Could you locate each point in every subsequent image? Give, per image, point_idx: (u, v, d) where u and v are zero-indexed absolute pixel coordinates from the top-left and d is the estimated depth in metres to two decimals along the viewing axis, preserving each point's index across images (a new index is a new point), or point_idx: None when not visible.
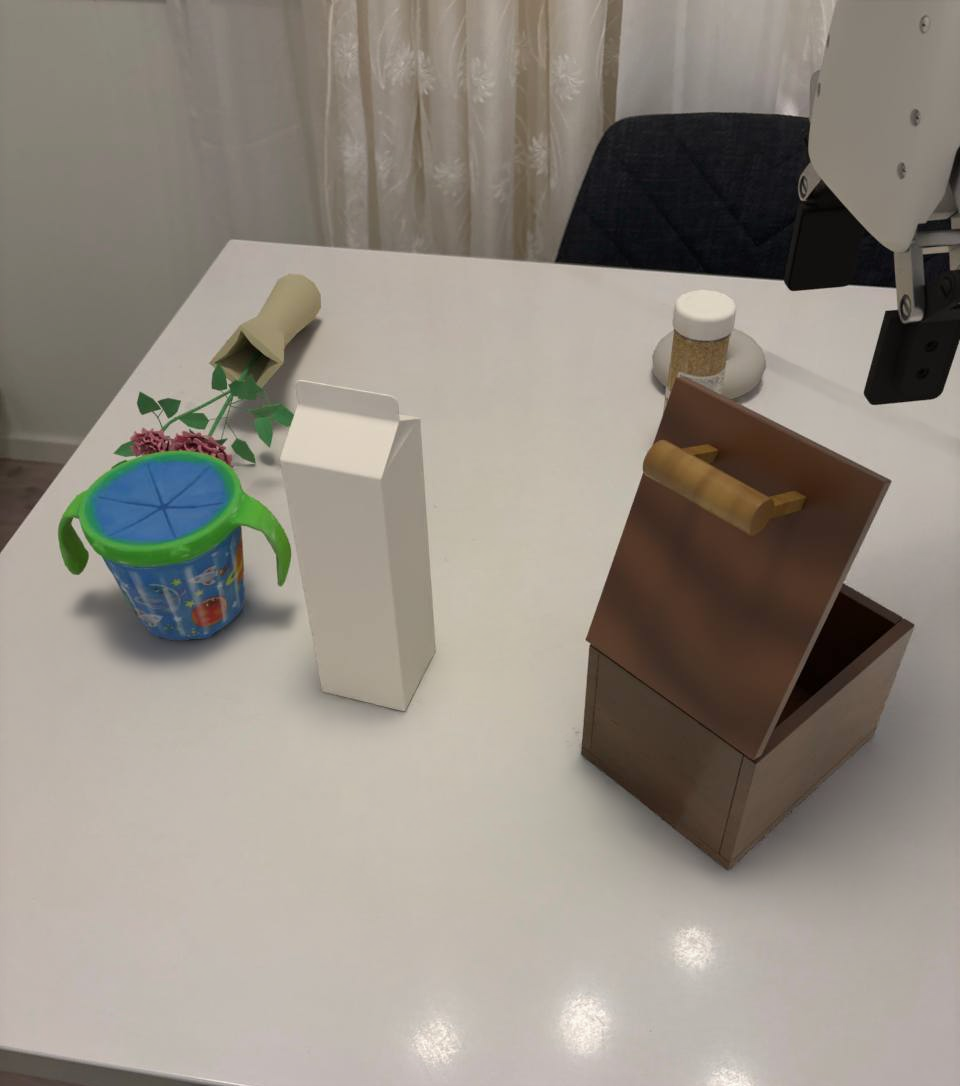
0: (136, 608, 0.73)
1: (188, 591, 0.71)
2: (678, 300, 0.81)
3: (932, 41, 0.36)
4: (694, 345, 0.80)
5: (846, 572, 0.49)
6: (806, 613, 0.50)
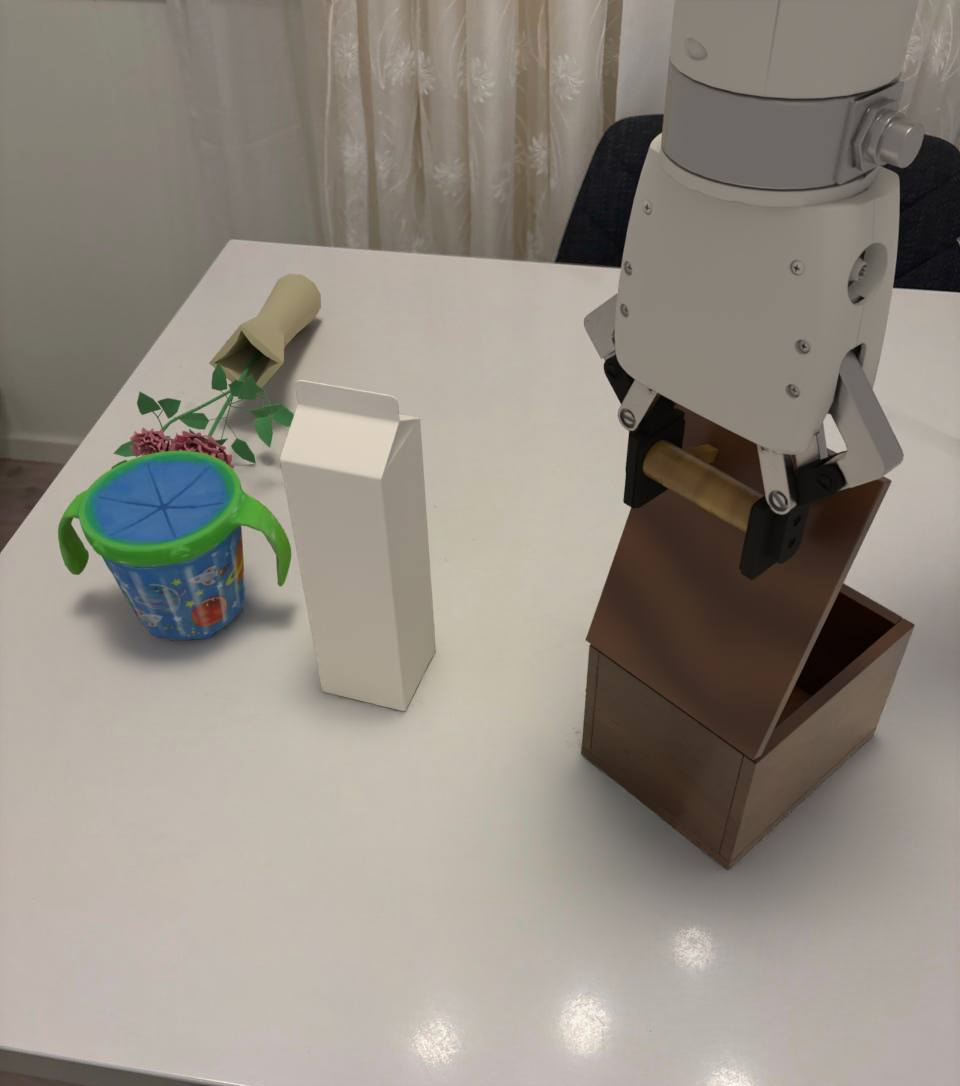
0: (136, 608, 0.73)
1: (188, 591, 0.71)
2: None
3: (811, 282, 0.37)
4: None
5: (846, 572, 0.49)
6: (806, 613, 0.50)
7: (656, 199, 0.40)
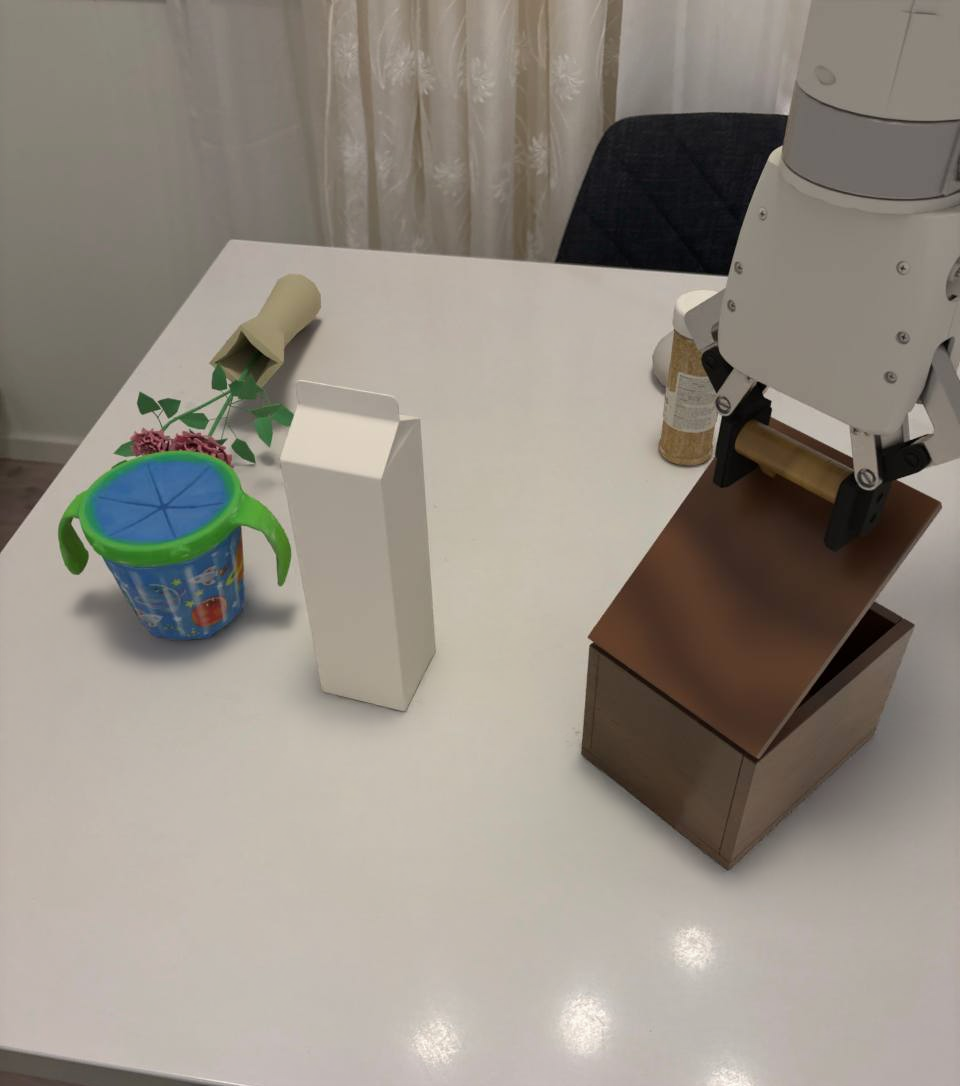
0: (136, 608, 0.73)
1: (188, 591, 0.71)
2: (678, 300, 0.81)
3: (915, 280, 0.42)
4: (694, 345, 0.80)
5: (887, 581, 0.53)
6: (843, 612, 0.53)
7: (771, 206, 0.45)
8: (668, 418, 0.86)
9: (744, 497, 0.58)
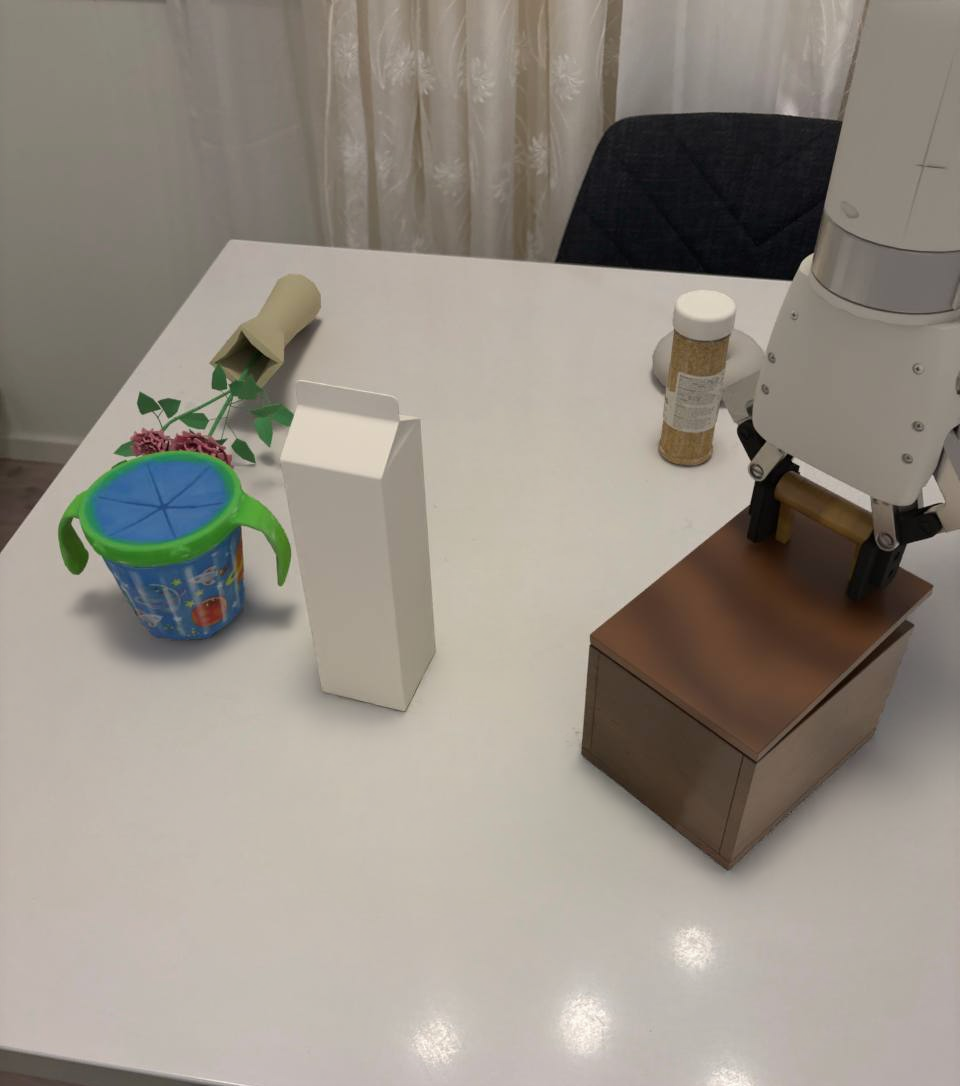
0: (136, 608, 0.73)
1: (188, 591, 0.71)
2: (678, 300, 0.81)
3: (928, 379, 0.48)
4: (694, 345, 0.80)
5: (884, 637, 0.58)
6: (847, 651, 0.57)
7: (802, 309, 0.51)
8: (668, 418, 0.86)
9: (756, 554, 0.62)
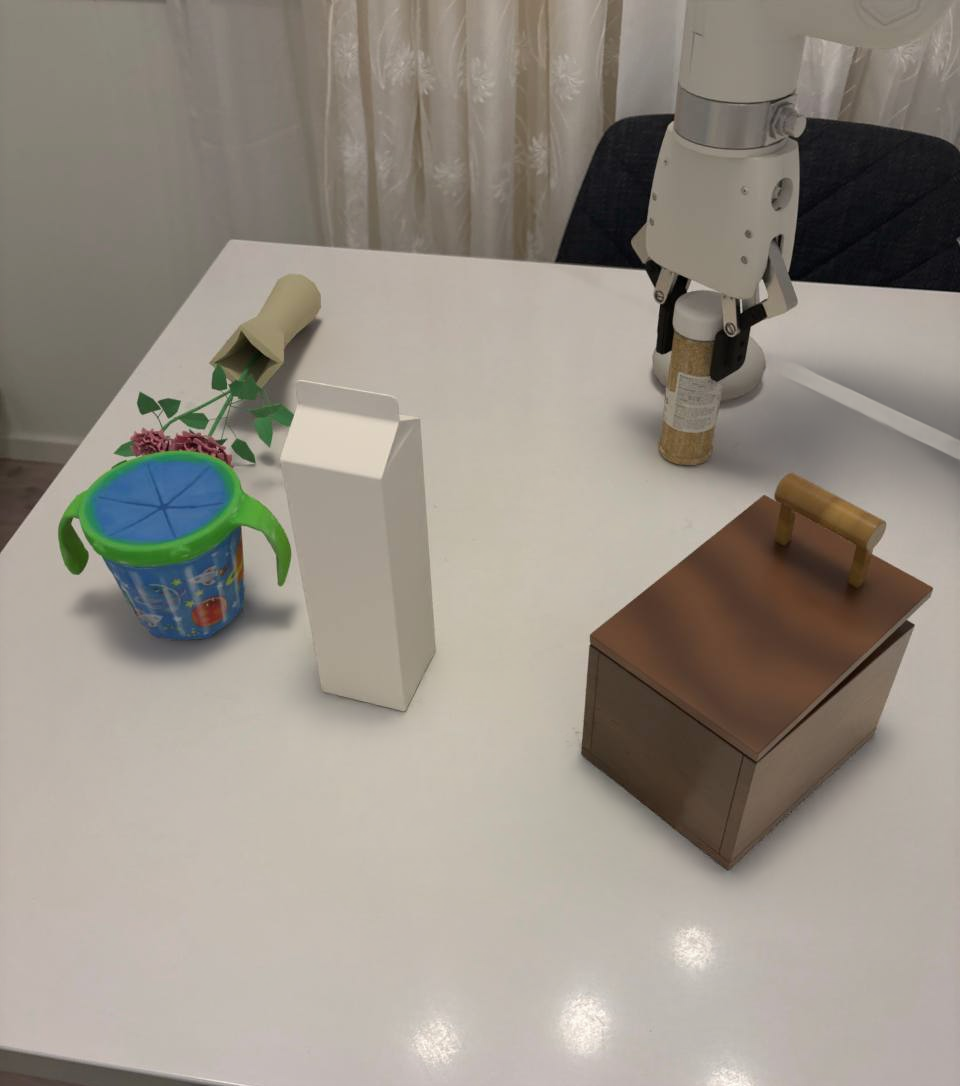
0: (136, 608, 0.73)
1: (188, 591, 0.71)
2: (678, 300, 0.81)
3: (752, 198, 0.70)
4: (695, 345, 0.80)
5: (884, 639, 0.58)
6: (847, 652, 0.57)
7: (670, 156, 0.73)
8: (668, 418, 0.86)
9: (756, 555, 0.63)
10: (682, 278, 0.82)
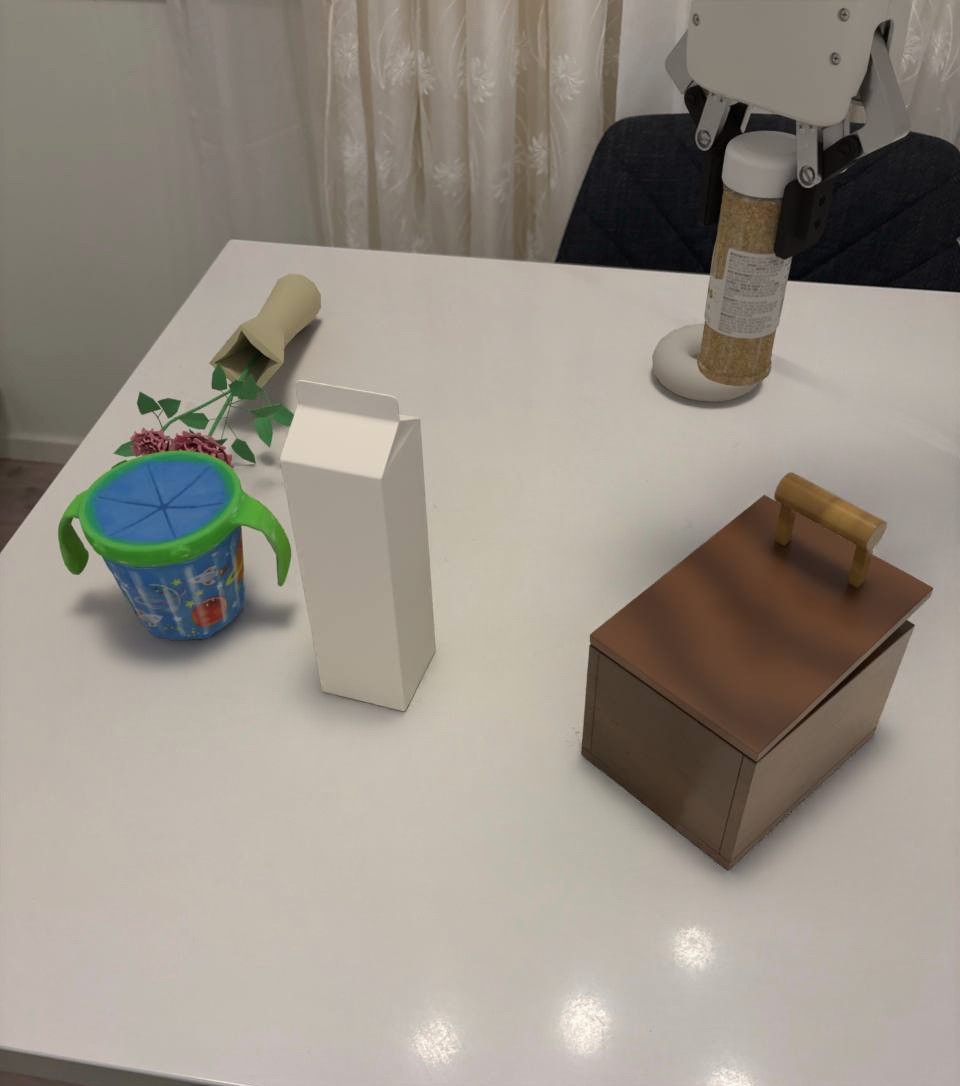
0: (136, 608, 0.73)
1: (188, 591, 0.71)
2: (731, 142, 0.57)
3: None
4: (753, 205, 0.57)
5: (884, 639, 0.58)
6: (847, 652, 0.57)
7: None
8: (712, 318, 0.62)
9: (756, 555, 0.63)
10: (736, 114, 0.58)
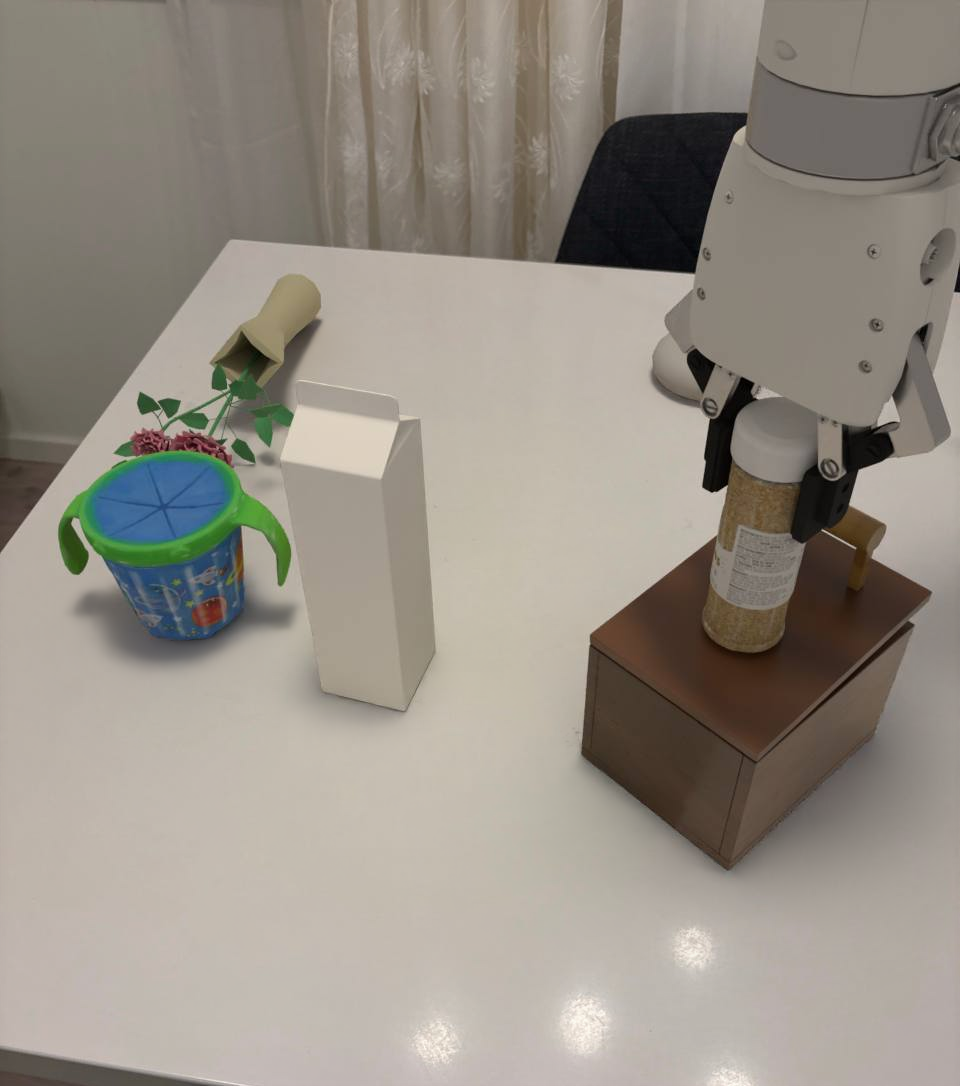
0: (136, 608, 0.73)
1: (188, 591, 0.71)
2: (740, 416, 0.50)
3: (887, 264, 0.40)
4: (767, 488, 0.50)
5: (883, 641, 0.59)
6: (846, 654, 0.58)
7: (737, 189, 0.43)
8: (719, 586, 0.56)
9: None
10: (746, 377, 0.51)
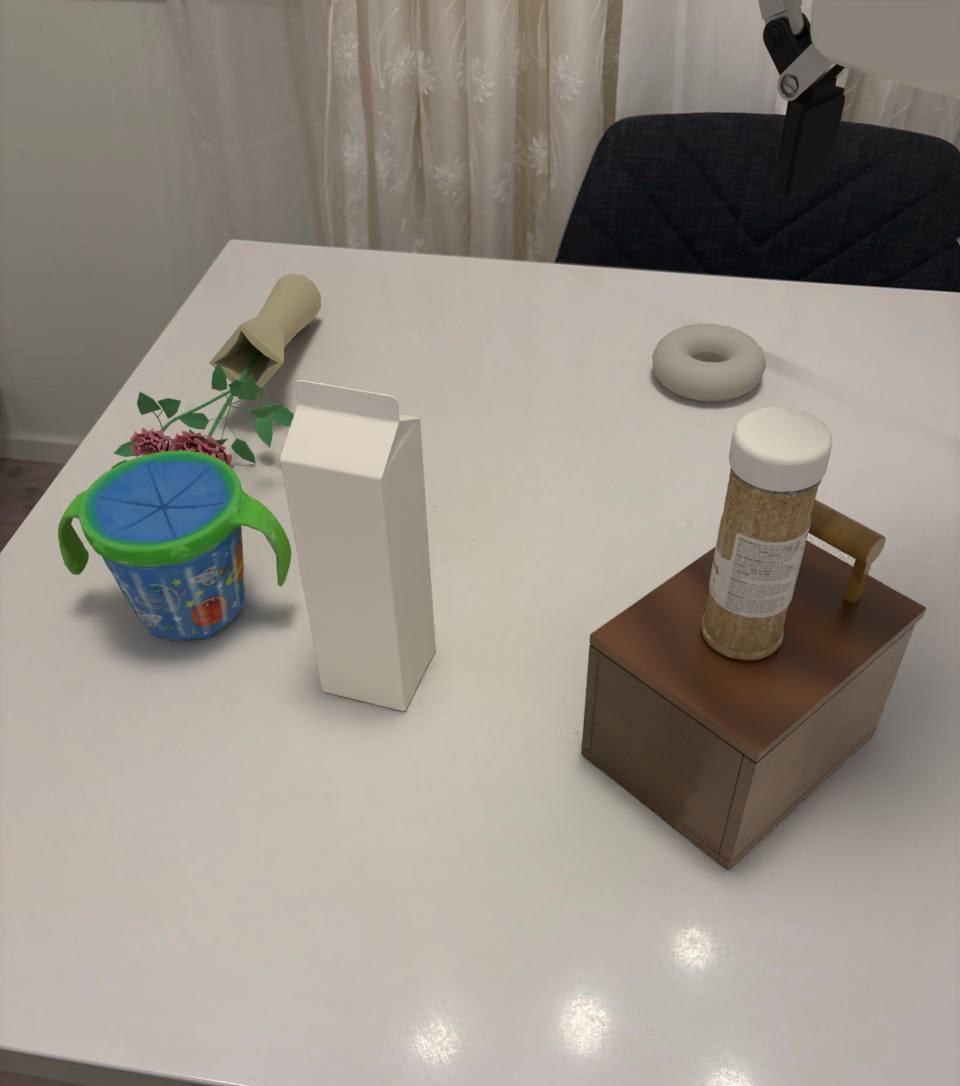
0: (136, 608, 0.73)
1: (188, 591, 0.71)
2: (739, 425, 0.51)
3: None
4: (765, 497, 0.50)
5: (879, 653, 0.59)
6: (844, 662, 0.58)
7: None
8: (718, 594, 0.56)
9: None
10: None
